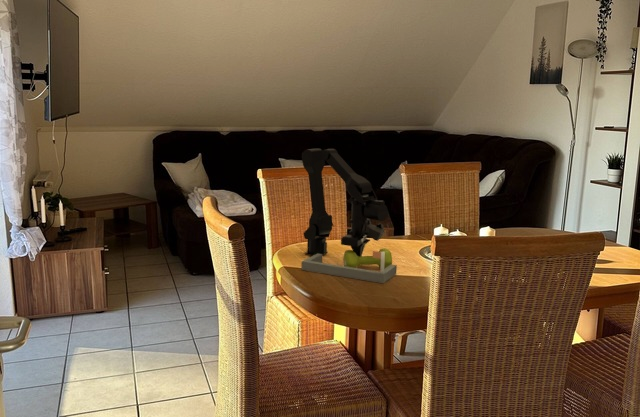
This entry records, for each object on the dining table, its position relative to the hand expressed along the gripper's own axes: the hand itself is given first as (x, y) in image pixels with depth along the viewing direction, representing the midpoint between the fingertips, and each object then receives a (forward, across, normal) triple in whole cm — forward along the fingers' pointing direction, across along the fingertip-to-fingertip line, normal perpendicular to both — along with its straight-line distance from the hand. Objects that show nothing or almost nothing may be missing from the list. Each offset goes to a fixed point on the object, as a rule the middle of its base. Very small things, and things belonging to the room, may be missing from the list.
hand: (358, 259), depth 210 cm
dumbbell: (+2, -4, -5) cm, 6 cm away
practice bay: (+2, -8, 0) cm, 9 cm away
